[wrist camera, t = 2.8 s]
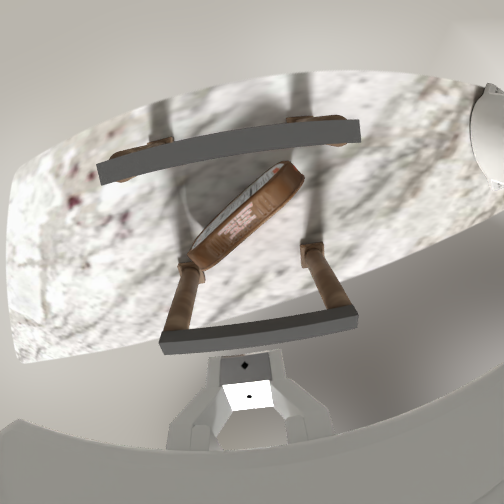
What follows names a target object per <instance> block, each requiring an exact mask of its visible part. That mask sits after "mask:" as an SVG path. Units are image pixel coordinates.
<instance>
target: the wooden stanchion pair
mask: <svg viewBox="0 0 504 504" xmlns="http://www.w3.org/2000/svg"><path fill="white" fill-rule="evenodd" d="M325 120H347V119H346V118H344V117H343V116H340V115H329V116H320V117H313V116H301V117H289V118H286V121H287V123H295V122H308V121H325ZM171 142H174V139H173V137H169V138H164V139H160V140H157V141H153V142H149V143H147V145H145V146H140V147H136V148H132V149H127V150H123V151H119V152H116V153H114V154H113V155H112V156H111V157H110V159H114V158H117V157H120V156H123V155H126V154H130V153H133V152H137V151H140V150H144V149H148V148H151V147H155V146H159V145H163V144H167V143H171ZM345 144H347V143H340V144H326V145H331V146H336V147H340V146H343V145H345ZM110 159H109V160H110ZM134 177H136V176H134ZM134 177H130V178H126V179H123V180H119V181H116V182H120V183H122V182H126V181H128V180H130V179H132V178H134ZM300 252H301V266H302V268H309V270H310V273H311V275H312V277H313V279H314V281H315V284H316V286H317V288H318V290H319V293H320V295H321V297H322V299H323V302H324V304H325V306H326V308H327V309H332V308H338V307H343V306H347V305H352V303H351V302H350V300H349V298H348V296H347V295H346V293H345V291H344V289H343V288H342V286H341V285H340V282H339V281H338V279H337V277H336V276H335V274H334V272H333V271H332V269H331V267H330V266H329V264H328V262H327V261H326V259H325V257H324V244H323V242H318V243H311V244H305V245H300ZM177 267H178V270H179V273H180V277H181V278H180V281H179V284H178V287H177V289H176V292H175V295H174V298H173V301H172V304H171V308H170V311H169V314H168V317H167V320H166V323H165V326H164V330H163V331H175V330H186V329H189V325H190V320H191V315H192V311H193V306H194V302H195V297H196V293H197V288H198V284H201V283H205V276H204V273H203V271H202V270H201V269H200V267H199V266H197V265H196V264H195V263H194V262H193V261H192V262H186V263H179V264H178V266H177Z"/></svg>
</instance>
